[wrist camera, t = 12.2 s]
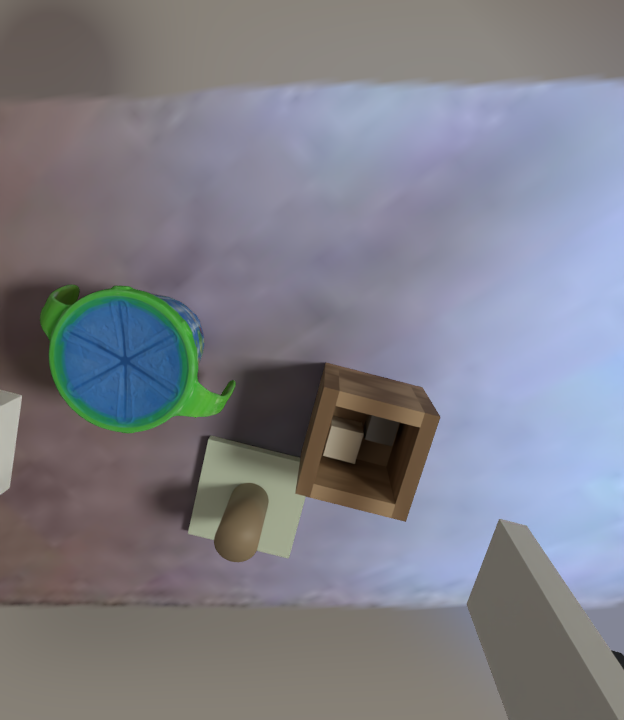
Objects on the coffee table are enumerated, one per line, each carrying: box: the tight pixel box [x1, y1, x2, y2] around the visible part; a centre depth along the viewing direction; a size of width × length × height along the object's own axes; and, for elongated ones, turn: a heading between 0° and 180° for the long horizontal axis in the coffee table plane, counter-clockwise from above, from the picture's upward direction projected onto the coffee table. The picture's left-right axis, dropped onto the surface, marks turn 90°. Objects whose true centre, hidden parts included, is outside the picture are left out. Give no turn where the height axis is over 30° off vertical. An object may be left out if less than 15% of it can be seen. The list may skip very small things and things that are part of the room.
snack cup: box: [40, 285, 236, 433], centre depth 42 cm, size 16×10×10 cm
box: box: [295, 363, 440, 522], centre depth 44 cm, size 9×9×8 cm
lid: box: [188, 436, 306, 562], centre depth 46 cm, size 10×10×8 cm
